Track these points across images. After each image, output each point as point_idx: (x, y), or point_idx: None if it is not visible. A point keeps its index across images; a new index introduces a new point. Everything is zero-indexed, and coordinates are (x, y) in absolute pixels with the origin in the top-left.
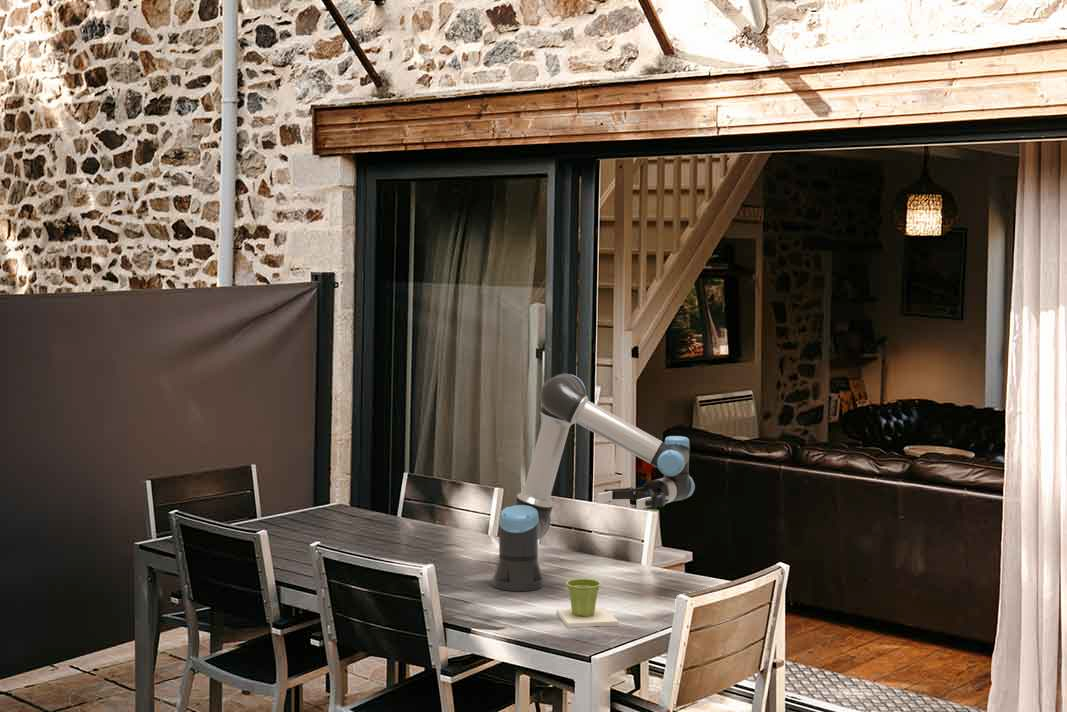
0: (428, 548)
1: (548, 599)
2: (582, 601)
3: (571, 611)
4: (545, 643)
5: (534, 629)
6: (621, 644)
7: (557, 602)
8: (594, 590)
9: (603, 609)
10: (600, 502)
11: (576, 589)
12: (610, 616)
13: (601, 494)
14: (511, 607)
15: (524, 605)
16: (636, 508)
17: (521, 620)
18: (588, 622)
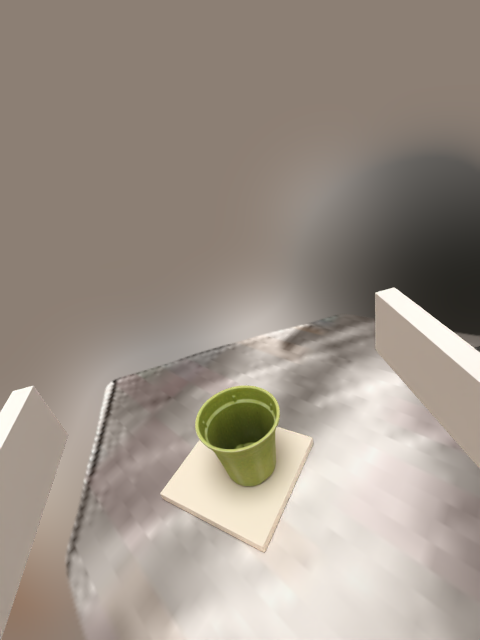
0: None
1: (448, 494)
2: (225, 425)
3: (280, 453)
4: (192, 363)
5: (251, 375)
6: (100, 437)
7: (407, 497)
8: (202, 428)
9: (250, 528)
10: (383, 354)
11: (226, 396)
12: (196, 503)
13: (390, 311)
14: (397, 397)
15: (404, 422)
16: (64, 431)
17: (305, 379)
18: (200, 440)
